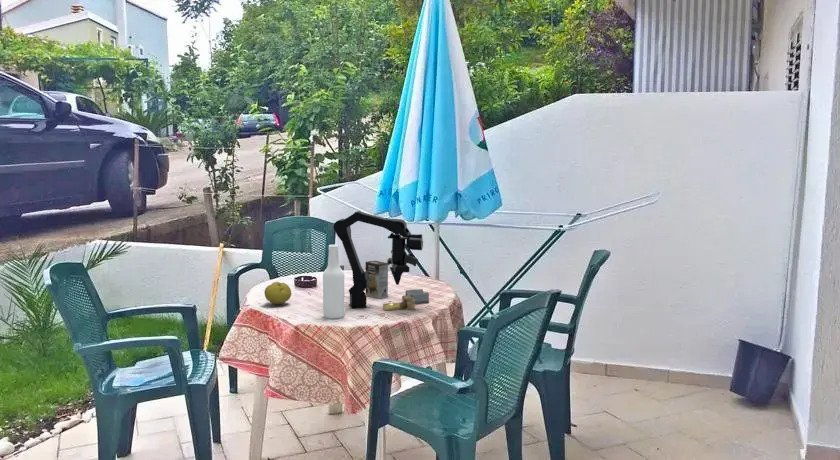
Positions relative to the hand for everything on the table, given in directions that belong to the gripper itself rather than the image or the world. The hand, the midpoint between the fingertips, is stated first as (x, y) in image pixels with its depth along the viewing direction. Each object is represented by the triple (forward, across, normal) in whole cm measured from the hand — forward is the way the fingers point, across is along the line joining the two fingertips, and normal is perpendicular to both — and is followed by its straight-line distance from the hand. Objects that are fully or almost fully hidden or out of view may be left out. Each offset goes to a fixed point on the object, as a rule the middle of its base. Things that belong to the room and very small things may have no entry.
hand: (397, 284), depth 317 cm
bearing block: (+10, 0, -5) cm, 12 cm away
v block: (+10, +10, -12) cm, 19 cm away
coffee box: (+11, +24, +4) cm, 27 cm away
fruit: (+12, +17, +50) cm, 54 cm away
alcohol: (+11, -8, +28) cm, 32 cm away
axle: (+11, -1, +2) cm, 11 cm away
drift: (+11, 0, -5) cm, 12 cm away
